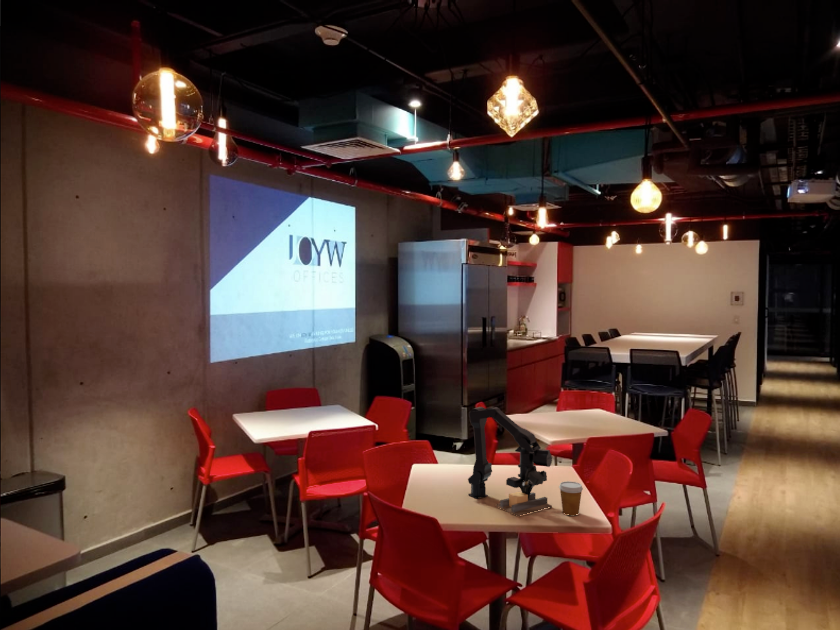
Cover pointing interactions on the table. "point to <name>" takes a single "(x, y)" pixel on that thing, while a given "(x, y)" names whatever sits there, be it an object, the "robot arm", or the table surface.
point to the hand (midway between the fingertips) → (526, 499)
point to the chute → (524, 505)
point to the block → (517, 498)
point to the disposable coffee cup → (570, 497)
